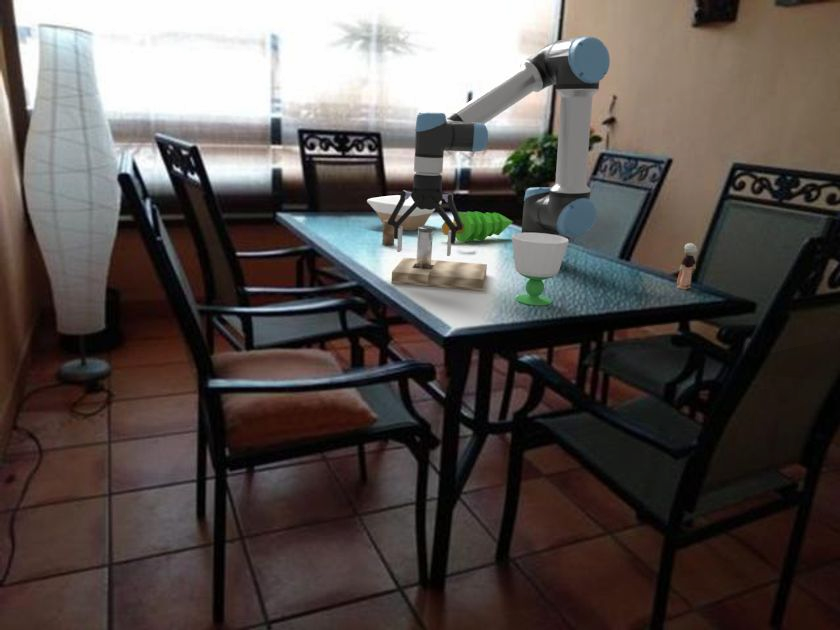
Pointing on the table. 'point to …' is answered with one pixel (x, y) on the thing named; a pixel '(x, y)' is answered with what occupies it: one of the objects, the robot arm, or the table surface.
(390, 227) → the walnut dowel
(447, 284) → the board
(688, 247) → the grandmother figurine
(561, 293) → the table surface
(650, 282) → the table surface
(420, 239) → the pin
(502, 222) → the decorative tree
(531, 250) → the cup
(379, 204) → the bowl
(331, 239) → the table surface
